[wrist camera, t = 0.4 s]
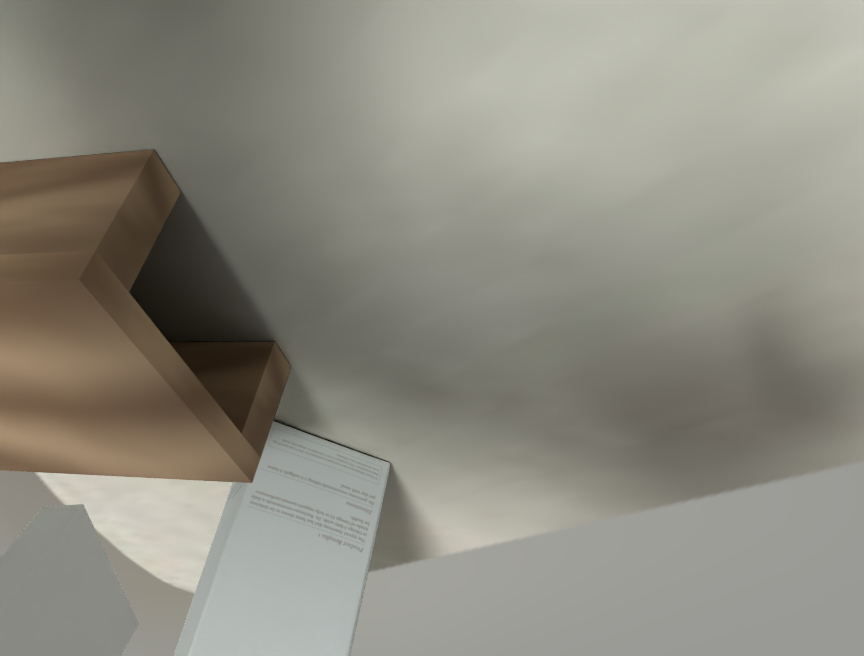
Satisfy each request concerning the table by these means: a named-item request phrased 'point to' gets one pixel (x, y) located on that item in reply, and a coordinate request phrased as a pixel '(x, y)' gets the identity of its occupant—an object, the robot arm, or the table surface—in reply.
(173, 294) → the table surface
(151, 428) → the shelf
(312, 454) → the supplement box
